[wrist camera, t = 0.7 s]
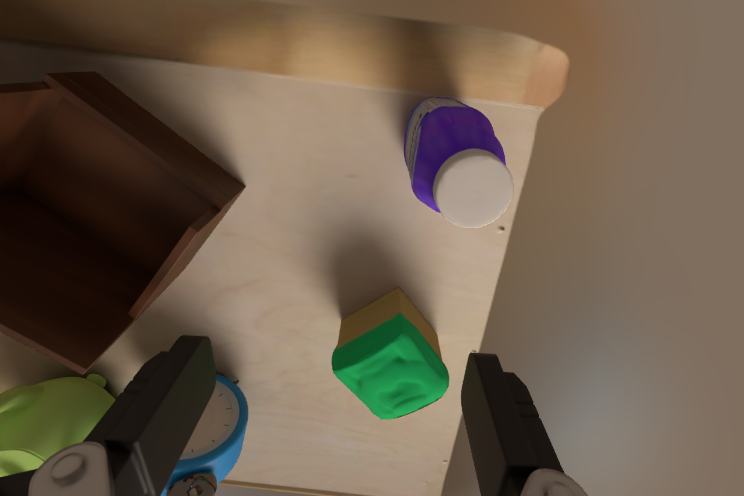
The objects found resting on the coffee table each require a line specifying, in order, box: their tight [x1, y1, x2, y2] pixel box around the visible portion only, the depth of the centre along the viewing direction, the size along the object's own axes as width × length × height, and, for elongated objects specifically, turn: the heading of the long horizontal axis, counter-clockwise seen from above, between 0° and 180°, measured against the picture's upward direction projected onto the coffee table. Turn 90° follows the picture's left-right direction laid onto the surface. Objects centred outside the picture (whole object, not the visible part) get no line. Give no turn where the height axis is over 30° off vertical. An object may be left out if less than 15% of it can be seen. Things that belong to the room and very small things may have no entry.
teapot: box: [0, 374, 115, 477], centre depth 47 cm, size 16×14×13 cm
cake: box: [332, 287, 449, 419], centre depth 41 cm, size 10×11×10 cm
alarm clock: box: [161, 374, 248, 496], centre depth 44 cm, size 13×6×15 cm, turn 74°
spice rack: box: [0, 72, 246, 375], centre depth 31 cm, size 13×16×16 cm
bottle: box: [404, 97, 513, 228], centre depth 28 cm, size 7×6×17 cm
